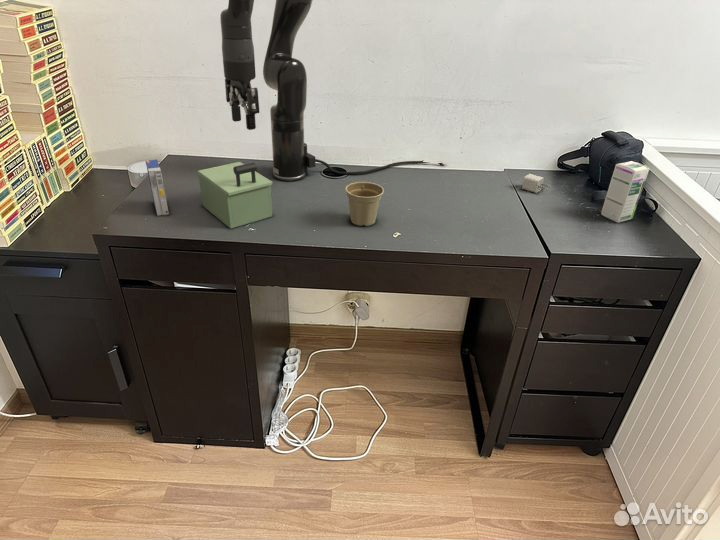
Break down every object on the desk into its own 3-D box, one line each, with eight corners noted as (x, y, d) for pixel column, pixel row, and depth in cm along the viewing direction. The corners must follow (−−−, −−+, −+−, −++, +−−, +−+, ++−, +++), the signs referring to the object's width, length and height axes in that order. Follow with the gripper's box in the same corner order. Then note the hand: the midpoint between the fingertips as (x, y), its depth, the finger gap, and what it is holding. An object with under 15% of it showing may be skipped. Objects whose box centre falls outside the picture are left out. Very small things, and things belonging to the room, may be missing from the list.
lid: (272, 184, 122) (271, 162, 119) (228, 195, 115) (226, 172, 112) (240, 164, 132) (238, 143, 129) (198, 173, 126) (195, 151, 123)
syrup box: (617, 223, 131) (636, 170, 123) (599, 214, 135) (616, 162, 127) (632, 219, 133) (651, 167, 125) (613, 210, 138) (631, 159, 130)
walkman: (153, 203, 131) (144, 159, 124) (165, 202, 132) (156, 158, 125) (157, 216, 125) (148, 170, 118) (169, 214, 126) (160, 168, 119)
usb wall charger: (527, 185, 150) (530, 173, 148) (549, 192, 147) (552, 179, 145) (521, 189, 148) (524, 176, 146) (543, 196, 144) (547, 183, 142)
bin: (272, 216, 127) (270, 183, 122) (230, 228, 121) (226, 194, 116) (243, 195, 137) (240, 164, 132) (202, 205, 131) (198, 173, 126)
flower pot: (386, 216, 129) (388, 185, 125) (375, 232, 122) (377, 199, 117) (352, 210, 132) (353, 179, 127) (339, 225, 124) (339, 193, 119)
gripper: (266, 61, 119) (269, 130, 127) (240, 52, 128) (245, 116, 137) (236, 64, 115) (242, 134, 123) (212, 54, 124) (218, 120, 133)
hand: (243, 124), depth 130 cm, fingers open, 8 cm apart
